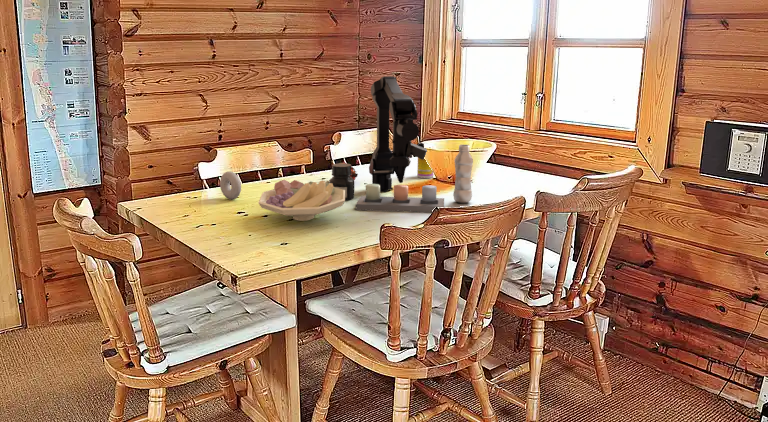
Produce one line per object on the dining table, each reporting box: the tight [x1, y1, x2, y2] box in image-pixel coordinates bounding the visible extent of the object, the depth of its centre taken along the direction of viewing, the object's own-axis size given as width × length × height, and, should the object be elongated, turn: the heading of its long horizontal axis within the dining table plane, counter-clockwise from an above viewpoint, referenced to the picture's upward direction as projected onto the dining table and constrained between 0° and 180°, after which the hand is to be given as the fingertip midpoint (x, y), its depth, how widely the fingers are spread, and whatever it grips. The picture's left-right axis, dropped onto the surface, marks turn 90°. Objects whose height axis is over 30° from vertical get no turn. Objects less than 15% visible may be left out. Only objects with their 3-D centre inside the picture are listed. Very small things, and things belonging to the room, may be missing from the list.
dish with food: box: [257, 179, 346, 222], centre depth 214 cm, size 28×28×14 cm
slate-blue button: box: [421, 184, 438, 201], centre depth 228 cm, size 5×5×4 cm
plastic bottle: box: [452, 144, 474, 204], centre depth 234 cm, size 6×7×20 cm
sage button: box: [365, 183, 381, 200], centre depth 230 cm, size 5×5×4 cm
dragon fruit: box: [344, 162, 359, 181], centre depth 267 cm, size 8×8×12 cm
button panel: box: [355, 195, 445, 213], centre depth 230 cm, size 29×12×2 cm, turn 84°
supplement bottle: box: [416, 144, 435, 179], centre depth 277 cm, size 7×7×13 cm
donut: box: [219, 171, 242, 200], centre depth 238 cm, size 10×4×10 cm, turn 48°
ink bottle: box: [328, 162, 355, 201], centre depth 240 cm, size 10×9×12 cm
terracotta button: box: [393, 184, 409, 201], centre depth 229 cm, size 5×5×4 cm
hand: (400, 182), depth 228 cm, fingers closed
